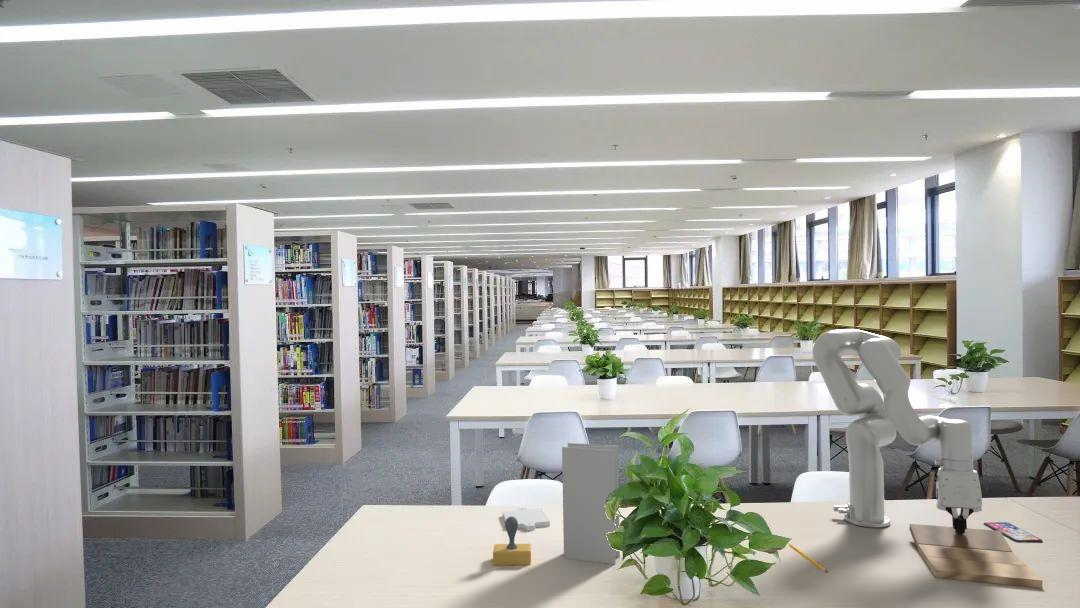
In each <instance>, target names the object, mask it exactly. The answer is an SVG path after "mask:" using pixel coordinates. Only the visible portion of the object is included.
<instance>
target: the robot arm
mask: <svg viewBox="0 0 1080 608" xmlns="http://www.w3.org/2000/svg"><path fill="white" fill-rule="evenodd" d="M901 355H902V351H901V347H900V345H899V343H897V341H896V340H894V339H892V338H890V337H887V336H884V335H879V334H875V333H872V332H869V331H865V330H860V329H857V328H856V329H855V328H842V329H832V330H831V329H829V330H827V331H825V332H823V333H821V334H820V335H819V336H818V337H817V338H816V340H815V341H814V344H813V348H812V359H813V362H814V363H815V366H816V368H817V370H818V371H819V373H820V375H821V377H822V379H823V381H824V383H825V386H826V387H827V390H828V393H829V394H830V397H831V399H832V400H833V403H834V404H835V407H836V408H837V410H838V412H839V413H840V414H841V415H843V416H846V417H853V416H854V417H855V416H858V419H857V418H856V420H853V421H852V422H851V423H849V424H848V425H847V427H846V428H845V429H846V430H845V441H846V442H845V443H846V447H847V452H848V453H847V454H848V471H849V476H848V477H849V479H848V480H849V483H848V484H849V502H847V504H844V505H838V504H837V505H836V504H833V512H838V514H844V515H843V516H844V519H845V521H847V522H848V523H850V524H853V525H856V526H860V527H865V528H878V529H879V528H885V527H888V526H890V525H891V519H890V518H889V517H888V516H887V515H885V482H884V481H885V476H884V460H883V456H882V453H881V450H880V449H881V447H884V446H887V445H890V444H892V443H893V442H894V441H895V439H896V437H897V432H898V434H899V436H901V438H902V439H903V440H905V442H907V443H908V444H910V445H912V446H924V445H928V444H930V443H936V442H939V452H940V457H939V458H938V459H935V460H934V464H935V465H936V466H940V467H939V468H938V470H937V474H936V484H935V485H936V486H935V487H936V489H935V497H936V505H935V506H936V509H938V510H939V511H940V510H941V511H945V512H947V513H948V514H949V515H951V518H952V527H953V528H954V529H955V530H956V531H957V532H958V533H965V529H967V528H968V525H967V519H968V518H969V516H970V515H972V514H973V513H980V512H982V511H983V508H982V507H983V497H982V496H983V495H982V489H981V482H980V478H979V474H978V472H977V471H978V470H975V469H974V457H973V454H974V453H973V438H972V437H973V436H972V434H973V433H972V425H971V423H970V422H969V421H967V420H963V419H959V418H958V419H957V418H945V417H940V416H937V415H930V414H929V415H922V416H919V414H917V412H916V411H915V409H914V407H913V406H912V403H911V402H910V400H909V389H910V386H911V378H910V377H909V375H908V374H907V372H906V371H905V369H904V368H903V366H902V365H901V364H900V362H899V359H900V357H901ZM844 356H856V357H858V359H860V361H861V362H862V364H863V365H864V367H865V368H866V370H867V372H868V373H869V375H870V376H871V377H872V379H873V380H874V382H875V384H876V385H877V387H878V388H879V390H880V391H881V393H882V395H883V398H882V396H881V394H880V392H879V391H878V389H876V388H875V387H874V386H871V385H870V384H867V383H861V382H860V383H858V382H857V380H856V378H855V376H854V375H853V373H852V371H851V369H850V367H849V366H848V365H847V364H846V363H845V362H844V361H843V358H842V357H844ZM958 509H960V511H959V514H958Z"/></svg>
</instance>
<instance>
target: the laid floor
mask: <svg viewBox="0 0 1080 608" xmlns="http://www.w3.org/2000/svg"><path fill="white" fill-rule="evenodd" d="M917 551H918V553H919V555H920V556H921V558H922V559H923V560H924V562H925V563H926V565H927V567H928V568H929V569H930V572H931V573H932V574H933V576H934V577H935V578H937V579H938V578H939V579H946V580H947V579H948V580H949V579H950V580H958V581H966V582H967V581H968V582H979V583H989V584H999V585H1009V586H1018V587H1028V588H1038V589H1043V579H1042V578H1040V577H1039V576H1038V575H1037V573H1035V572H1034V570H1032V569H1031V568H1030V567H1029V566H1028V565H1027V564H1026V563H1025V562H1024V561H1023V560H1021V558H1020V557H1018V556H1017V555H1016V554H1015V553H1014V552H1013V551H1012V552H1004V551H992V550H981V549H969V548H958V547H946V546H935V545H923V544H918V549H917Z"/></svg>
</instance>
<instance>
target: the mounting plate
mask: <svg viewBox="0 0 1080 608" xmlns="http://www.w3.org/2000/svg"><path fill="white" fill-rule="evenodd" d="M511 516H512V517H515V518H516V519H517V521H518V529H517V530H520V529H521V530H525V531H526V532H533V531H536V528H546V527H550V526H551V521H550V519H549V518H548V516H547V514H546V513H545V511H544V510H543V509H542V508H532V509H531V508H530V509H528V508H526V507H517V508H516V510H508V511H507V510H506V511H502V518H503V521H504V522H506V520H507V518H508V517H511Z"/></svg>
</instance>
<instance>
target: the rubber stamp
mask: <svg viewBox="0 0 1080 608" xmlns="http://www.w3.org/2000/svg"><path fill="white" fill-rule="evenodd" d="M504 522H505V521H504ZM504 525H505V526H504V527H505V530H506V533H507V536H508V539H509V543H495V544H494V545H493V551H492V565H493V566H531V565H532V563H531V562H532V544H531V543H515V538H516V534H517V531H518V530H519V529H518V521H517V519H516V518H515V517H512V516H511V517H508V518H507V520H506V522H505V523H504Z"/></svg>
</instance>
